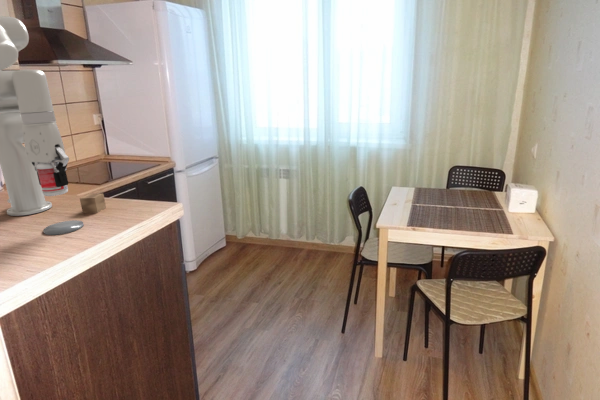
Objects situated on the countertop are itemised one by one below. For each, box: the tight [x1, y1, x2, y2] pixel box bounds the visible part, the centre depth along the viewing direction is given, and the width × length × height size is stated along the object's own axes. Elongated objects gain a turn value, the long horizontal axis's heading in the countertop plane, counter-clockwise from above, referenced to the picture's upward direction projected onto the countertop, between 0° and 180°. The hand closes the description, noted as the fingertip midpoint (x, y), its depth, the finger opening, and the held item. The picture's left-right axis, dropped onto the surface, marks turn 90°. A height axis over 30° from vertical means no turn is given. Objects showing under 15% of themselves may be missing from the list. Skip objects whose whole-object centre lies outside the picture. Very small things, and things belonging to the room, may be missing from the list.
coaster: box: [42, 219, 85, 236], centre depth 115 cm, size 10×10×1 cm
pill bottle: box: [37, 158, 69, 197], centre depth 110 cm, size 6×6×11 cm
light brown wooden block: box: [79, 193, 107, 214], centre depth 130 cm, size 5×5×5 cm
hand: (54, 184), depth 111 cm, fingers closed on pill bottle, 6 cm apart
